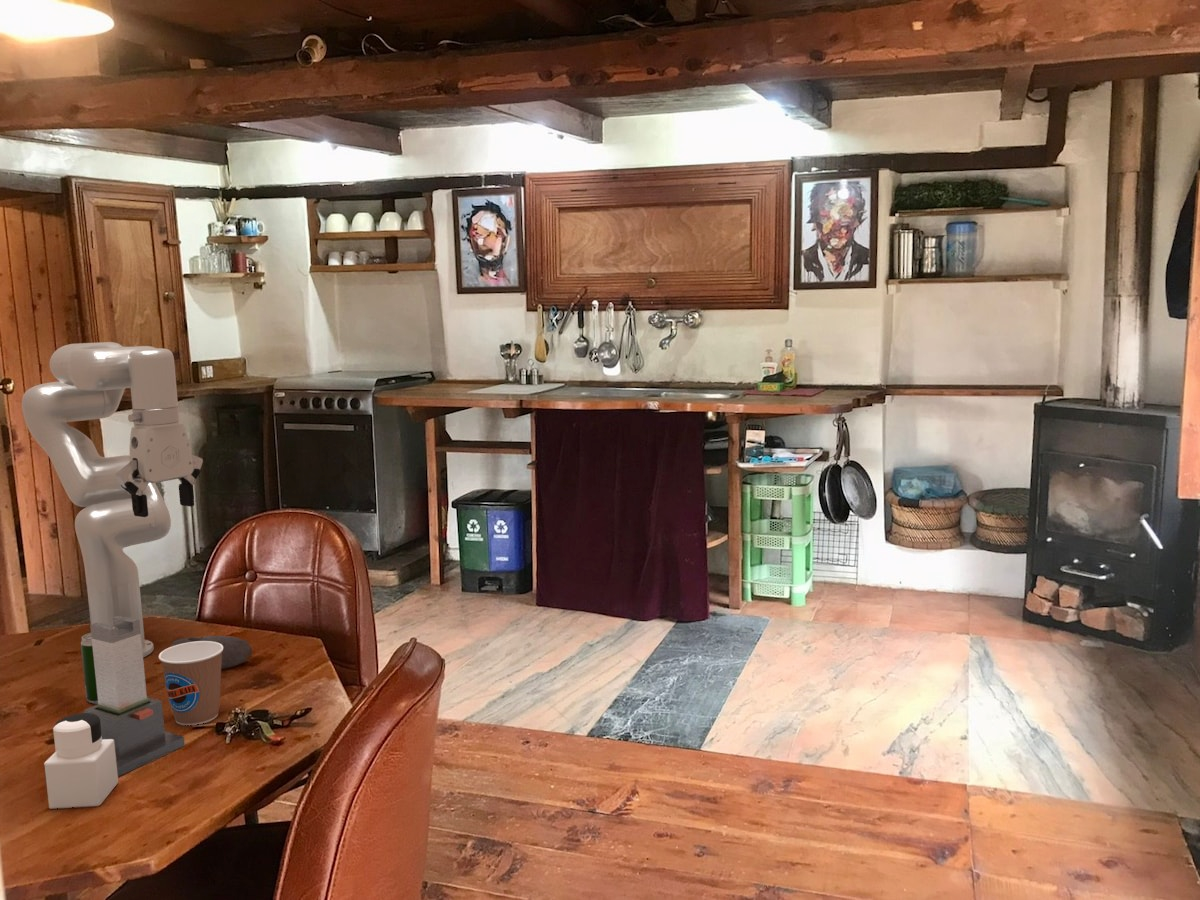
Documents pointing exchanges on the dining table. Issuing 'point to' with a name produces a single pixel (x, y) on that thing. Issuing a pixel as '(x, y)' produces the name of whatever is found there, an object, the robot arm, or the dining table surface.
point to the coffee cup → (193, 680)
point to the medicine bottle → (80, 763)
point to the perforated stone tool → (225, 648)
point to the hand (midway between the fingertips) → (164, 510)
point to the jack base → (137, 735)
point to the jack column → (119, 665)
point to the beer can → (89, 669)
